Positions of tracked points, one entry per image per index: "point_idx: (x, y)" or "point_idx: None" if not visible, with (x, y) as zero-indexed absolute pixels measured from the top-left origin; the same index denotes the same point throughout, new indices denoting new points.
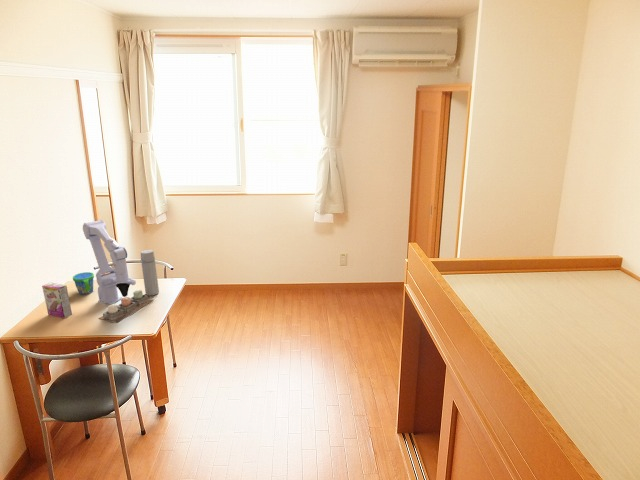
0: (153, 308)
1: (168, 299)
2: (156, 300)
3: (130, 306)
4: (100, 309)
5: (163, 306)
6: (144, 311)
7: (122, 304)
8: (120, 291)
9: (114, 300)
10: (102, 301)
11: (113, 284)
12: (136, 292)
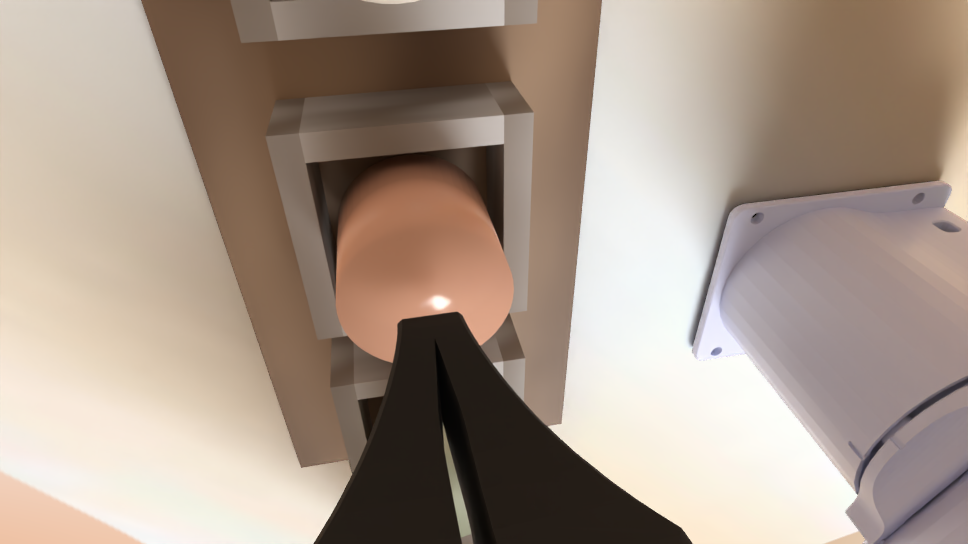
0: (82, 361)
1: (178, 537)
2: (279, 477)
3: (289, 219)
4: (812, 20)
5: (27, 442)
6: (95, 254)
7: (426, 181)
8: (504, 396)
9: (739, 275)
10: (888, 201)
11: (901, 486)
12: (456, 494)
